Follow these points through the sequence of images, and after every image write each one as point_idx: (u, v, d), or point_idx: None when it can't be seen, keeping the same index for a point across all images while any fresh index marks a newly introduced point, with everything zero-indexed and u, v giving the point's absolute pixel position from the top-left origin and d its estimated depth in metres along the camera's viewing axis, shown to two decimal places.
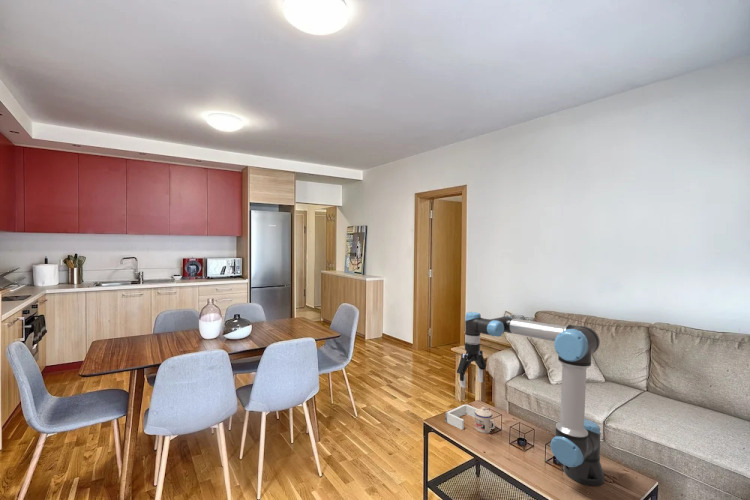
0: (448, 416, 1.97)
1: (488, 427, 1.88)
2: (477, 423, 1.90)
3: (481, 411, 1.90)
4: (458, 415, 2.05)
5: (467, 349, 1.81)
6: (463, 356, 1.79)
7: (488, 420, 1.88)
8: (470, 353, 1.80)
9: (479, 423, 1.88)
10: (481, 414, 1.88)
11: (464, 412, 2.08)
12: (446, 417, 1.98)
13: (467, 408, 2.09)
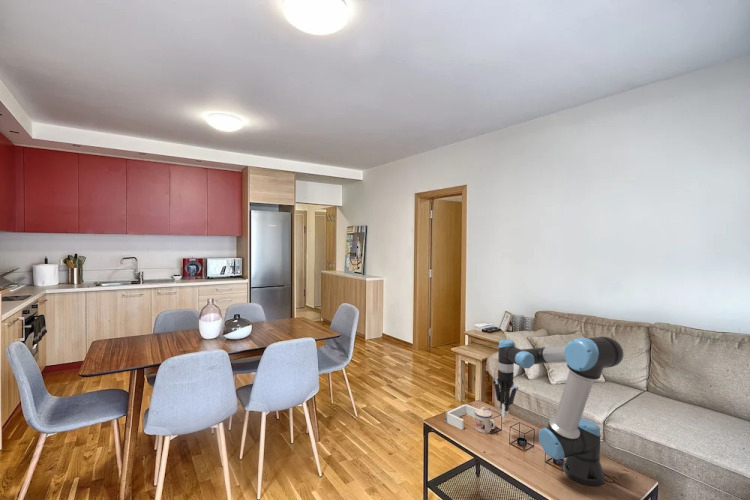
0: (448, 416, 1.97)
1: (488, 427, 1.88)
2: (477, 423, 1.90)
3: (481, 411, 1.90)
4: (458, 415, 2.05)
5: None
6: None
7: (488, 420, 1.88)
8: (498, 378, 1.84)
9: (479, 423, 1.88)
10: (481, 414, 1.88)
11: (464, 412, 2.08)
12: (446, 417, 1.98)
13: (467, 408, 2.09)
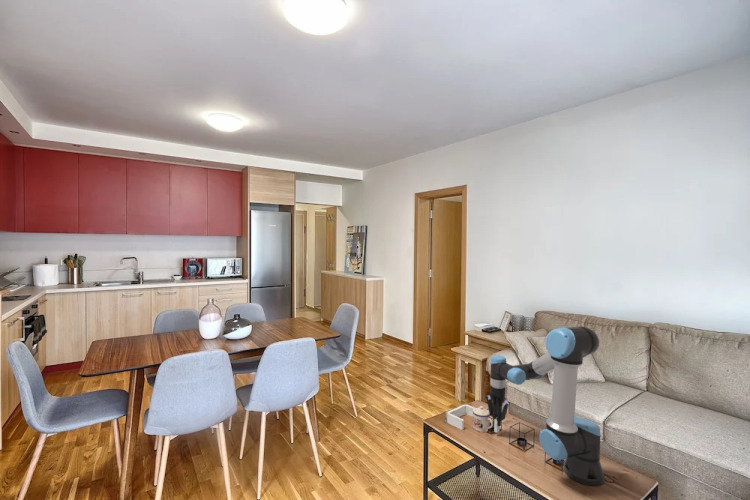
0: (448, 416, 1.97)
1: (486, 426, 1.89)
2: (475, 422, 1.91)
3: (479, 410, 1.91)
4: (458, 415, 2.05)
5: None
6: None
7: (486, 419, 1.89)
8: (490, 393, 1.87)
9: (477, 422, 1.89)
10: (479, 413, 1.89)
11: (464, 412, 2.08)
12: (446, 417, 1.98)
13: (467, 408, 2.09)
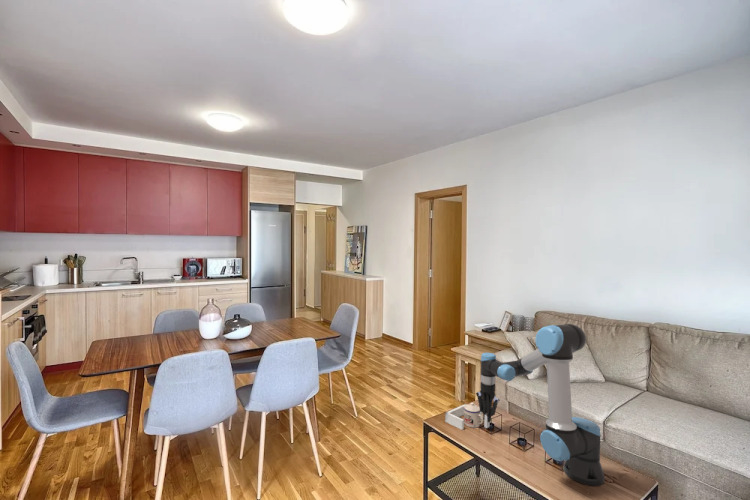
0: (448, 416, 1.97)
1: (476, 422, 1.93)
2: (466, 418, 1.95)
3: (470, 406, 1.96)
4: (458, 415, 2.05)
5: None
6: None
7: (476, 415, 1.93)
8: (481, 390, 1.92)
9: (468, 418, 1.94)
10: (470, 409, 1.94)
11: None
12: (446, 417, 1.98)
13: None
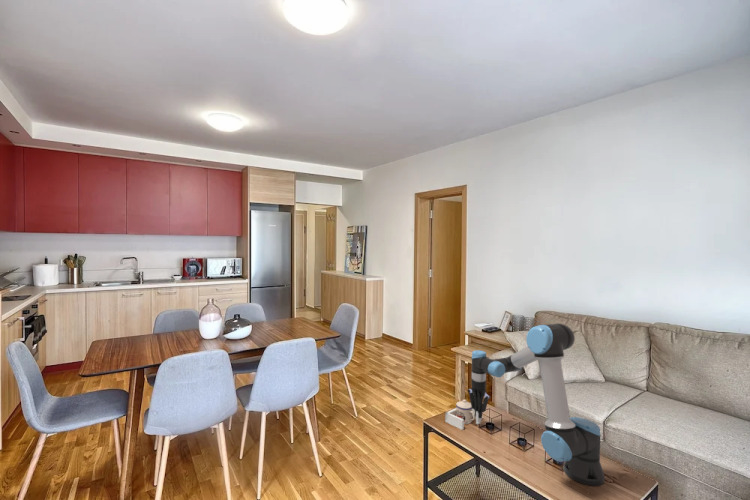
0: (448, 416, 1.97)
1: (468, 418, 1.97)
2: (458, 415, 1.99)
3: (462, 403, 1.99)
4: None
5: None
6: None
7: (468, 412, 1.97)
8: (472, 387, 1.96)
9: (460, 415, 1.98)
10: (462, 406, 1.98)
11: None
12: (446, 417, 1.98)
13: None
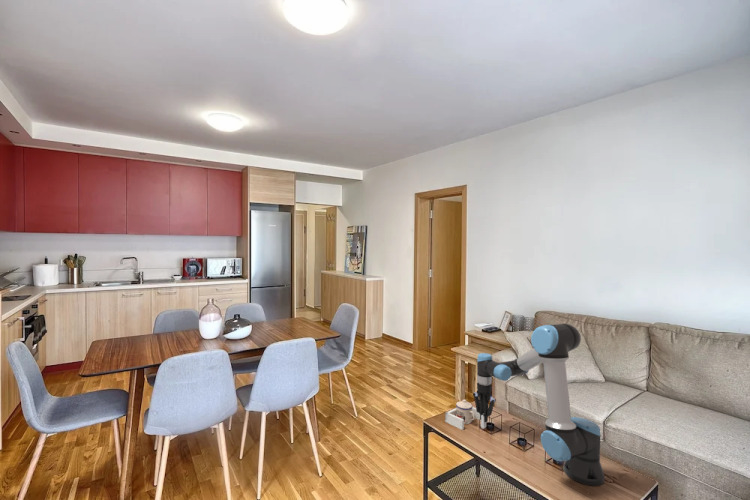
0: (448, 416, 1.97)
1: (468, 418, 1.97)
2: (458, 415, 1.99)
3: (462, 403, 1.99)
4: None
5: None
6: None
7: (468, 412, 1.97)
8: (477, 390, 1.93)
9: (460, 415, 1.98)
10: (462, 406, 1.98)
11: None
12: (446, 417, 1.98)
13: None
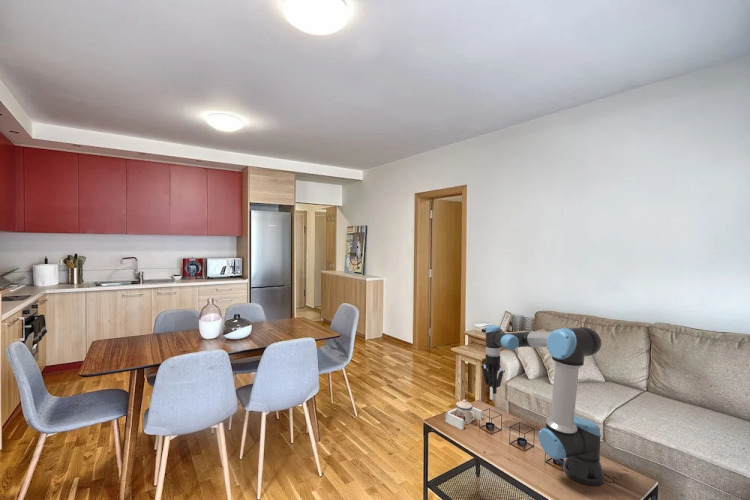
0: (448, 416, 1.97)
1: (468, 418, 1.97)
2: (458, 415, 1.99)
3: (462, 403, 1.99)
4: None
5: None
6: None
7: (468, 412, 1.97)
8: (486, 362, 1.93)
9: (460, 415, 1.98)
10: (462, 406, 1.98)
11: None
12: (446, 417, 1.98)
13: None
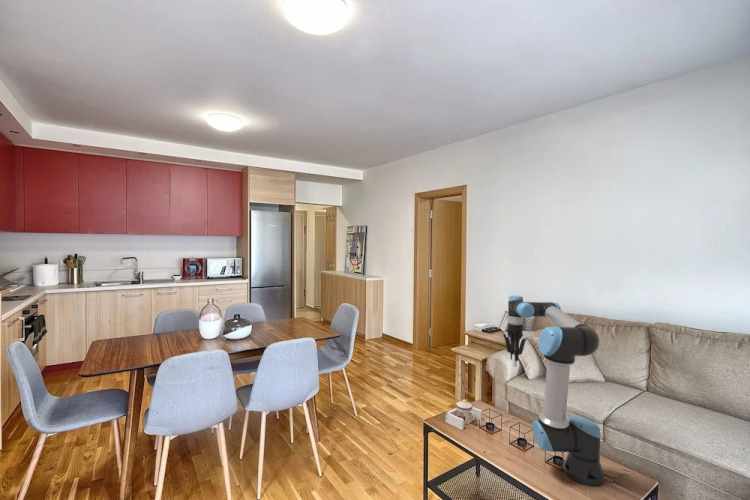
0: (448, 416, 1.97)
1: (468, 418, 1.97)
2: (458, 415, 1.99)
3: (462, 403, 1.99)
4: None
5: None
6: None
7: (468, 412, 1.97)
8: (508, 331, 1.99)
9: (460, 414, 1.98)
10: (462, 406, 1.98)
11: None
12: (446, 417, 1.98)
13: None
